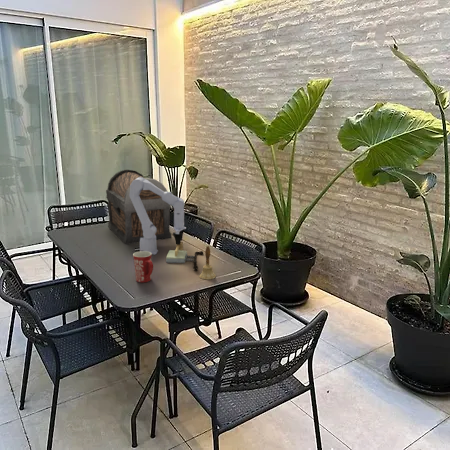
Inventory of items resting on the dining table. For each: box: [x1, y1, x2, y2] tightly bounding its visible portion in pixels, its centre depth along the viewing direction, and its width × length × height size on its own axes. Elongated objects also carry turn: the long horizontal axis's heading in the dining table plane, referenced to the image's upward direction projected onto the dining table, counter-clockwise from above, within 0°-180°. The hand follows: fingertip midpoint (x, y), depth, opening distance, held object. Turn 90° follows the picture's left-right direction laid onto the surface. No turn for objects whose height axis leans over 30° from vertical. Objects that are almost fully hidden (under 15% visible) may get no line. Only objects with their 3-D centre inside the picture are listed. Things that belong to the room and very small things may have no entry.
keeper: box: [185, 255, 195, 262], centre depth 234 cm, size 4×6×1 cm
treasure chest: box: [105, 169, 172, 245], centre depth 278 cm, size 45×32×40 cm
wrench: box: [192, 250, 204, 272], centre depth 229 cm, size 5×5×30 cm
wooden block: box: [175, 241, 184, 251], centre depth 243 cm, size 4×4×6 cm
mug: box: [132, 250, 154, 283], centre depth 202 cm, size 13×9×14 cm
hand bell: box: [198, 245, 217, 281], centre depth 208 cm, size 8×8×16 cm
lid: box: [165, 246, 188, 260], centre depth 233 cm, size 10×12×4 cm
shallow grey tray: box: [165, 252, 188, 264], centre depth 234 cm, size 10×12×2 cm
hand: (179, 242), depth 242 cm, fingers open, 7 cm apart
